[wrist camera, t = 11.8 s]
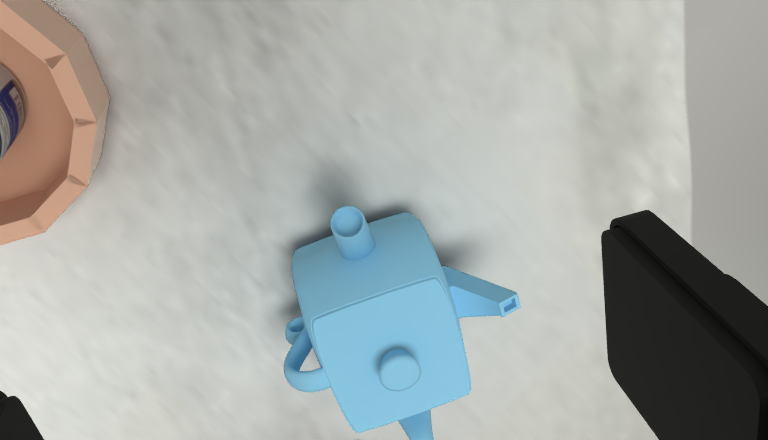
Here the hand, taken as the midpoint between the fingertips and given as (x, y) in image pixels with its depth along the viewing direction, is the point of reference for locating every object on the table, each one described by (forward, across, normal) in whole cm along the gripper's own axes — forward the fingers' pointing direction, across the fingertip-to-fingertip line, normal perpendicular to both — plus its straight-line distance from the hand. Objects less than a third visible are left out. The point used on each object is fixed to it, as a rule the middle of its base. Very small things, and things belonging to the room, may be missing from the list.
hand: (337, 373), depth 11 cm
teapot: (+31, -3, +19) cm, 36 cm away
